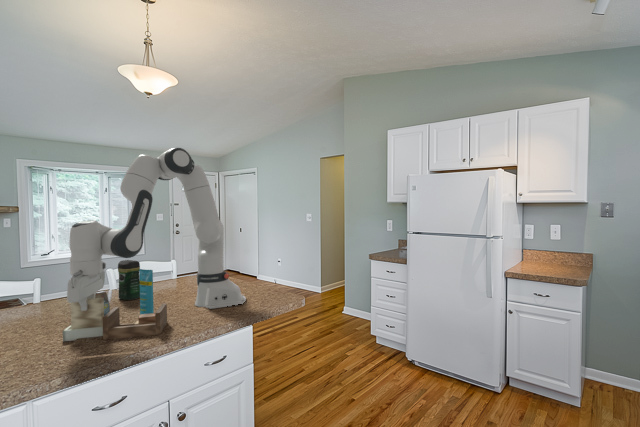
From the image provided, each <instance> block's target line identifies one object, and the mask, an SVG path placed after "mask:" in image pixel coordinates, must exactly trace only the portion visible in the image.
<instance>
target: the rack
mask: <svg viewBox="0 0 640 427" xmlns="http://www.w3.org/2000/svg"><path fill="white" fill-rule="evenodd" d="M154 313H155V320H156V323H155V324H143V325H134V324H135V323H136V322H134V323H133V322H131V323H121V322H120V321H121V320H120V306H114V307H113V308H112V309H110V311H109V312H108V313H107V314H106V315H105V316H103V317H102V318H103V336H102V340H111V339H123V338H124V339H125V338H132V337H133V338H134V337H144V336H156V335H162V332H163V331H164V329H165V327H166V326H167V325H168V303H167V302H166V303H164V302H163V303H162V304H161V305H160V306H159V308H158V309H157V310H156V312H154Z"/></svg>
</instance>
